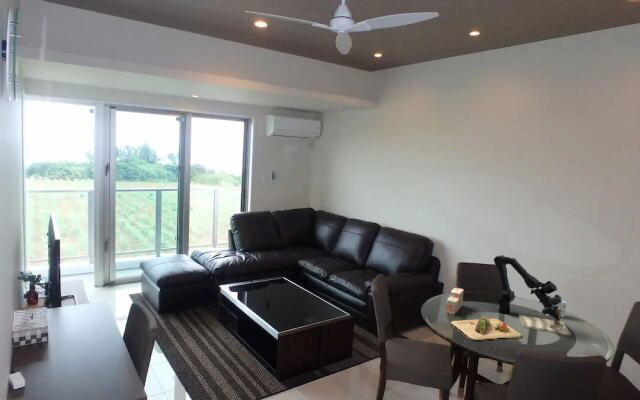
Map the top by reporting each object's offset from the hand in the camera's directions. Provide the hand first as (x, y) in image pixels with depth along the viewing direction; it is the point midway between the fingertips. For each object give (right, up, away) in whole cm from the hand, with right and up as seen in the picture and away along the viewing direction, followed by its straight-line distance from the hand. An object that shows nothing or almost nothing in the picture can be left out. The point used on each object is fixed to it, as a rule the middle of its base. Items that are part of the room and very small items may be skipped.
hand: (559, 319), depth 242 cm
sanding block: (-1, -6, +2) cm, 6 cm away
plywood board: (-6, -6, +7) cm, 11 cm away
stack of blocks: (-58, -1, +26) cm, 63 cm away
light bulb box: (+13, -5, +26) cm, 30 cm away
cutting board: (-49, -6, -4) cm, 49 cm away
